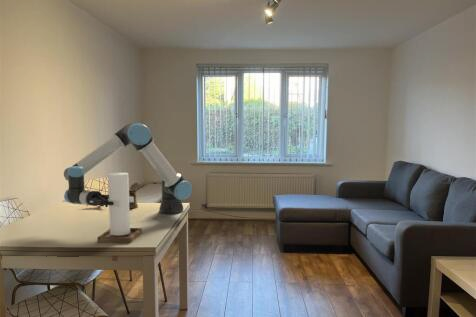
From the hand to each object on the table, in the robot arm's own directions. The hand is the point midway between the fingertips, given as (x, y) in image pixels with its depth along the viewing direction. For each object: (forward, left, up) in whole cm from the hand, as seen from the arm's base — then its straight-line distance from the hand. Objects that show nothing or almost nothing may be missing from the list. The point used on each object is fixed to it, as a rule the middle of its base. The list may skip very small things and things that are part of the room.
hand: (126, 201), depth 178 cm
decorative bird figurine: (-15, -74, -19) cm, 78 cm away
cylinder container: (+2, -4, -16) cm, 17 cm away
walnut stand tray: (+2, -4, -18) cm, 19 cm away
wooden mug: (-30, -59, -19) cm, 69 cm away
